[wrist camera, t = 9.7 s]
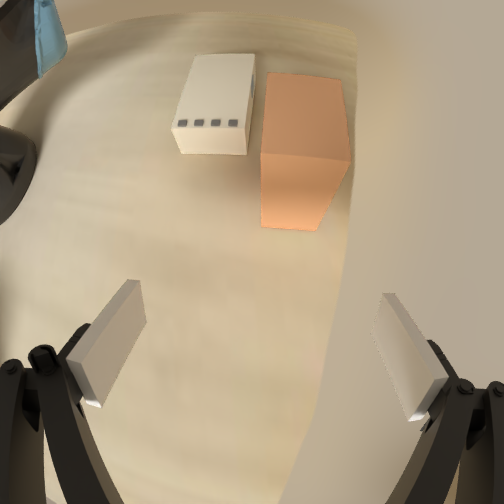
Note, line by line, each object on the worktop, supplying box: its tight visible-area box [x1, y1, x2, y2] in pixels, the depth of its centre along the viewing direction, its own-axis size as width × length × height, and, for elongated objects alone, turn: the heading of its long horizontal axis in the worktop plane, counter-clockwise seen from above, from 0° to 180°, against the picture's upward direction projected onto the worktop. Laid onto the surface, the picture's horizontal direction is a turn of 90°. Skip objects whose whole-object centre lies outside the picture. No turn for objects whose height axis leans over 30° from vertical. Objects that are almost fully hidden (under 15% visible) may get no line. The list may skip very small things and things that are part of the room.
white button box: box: [171, 53, 256, 155], centre depth 28 cm, size 7×12×5 cm, turn 175°
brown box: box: [261, 72, 351, 231], centre depth 22 cm, size 5×7×12 cm
